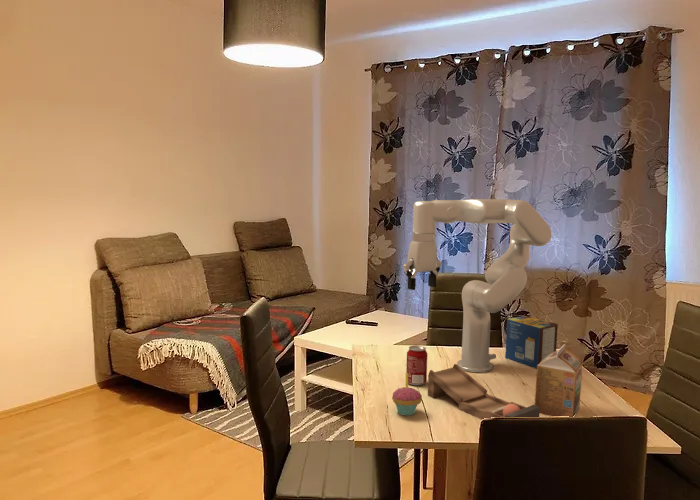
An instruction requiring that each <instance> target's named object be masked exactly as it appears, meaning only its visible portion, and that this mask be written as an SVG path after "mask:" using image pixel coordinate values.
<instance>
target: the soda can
mask: <svg viewBox="0 0 700 500" xmlns="http://www.w3.org/2000/svg"><path fill="white" fill-rule="evenodd" d="M405 370H407V373H408V385H411V386H415V387H416V386H417V387H421V386H423V385H425V384H426V383H427V382H428V380H427V377H428V375H427V374H428V352H427V348H426V346H422V345H410V346H409V347H408V350H407V352H406V368H405Z"/></svg>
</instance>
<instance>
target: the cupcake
mask: <svg viewBox="0 0 700 500" xmlns="http://www.w3.org/2000/svg"><path fill="white" fill-rule="evenodd" d="M405 370H406V369H405ZM422 397H423V396H422V394H421V393H420V390H419V391H418V390H417V389H415V388H412V387H409V383H408V373H407V370H406V371H405V386H404V387H400V388H397V389H395V390H394V392H392V397H391V399H392V402H393V403H394V404H395V407H396V410H397V413H398V414H399V415H402V416H412V415H414V414H415V412H416V409H417V406H418V405H419V404H421V402H422V401H423V400H422V399H423V398H422Z"/></svg>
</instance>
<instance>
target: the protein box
mask: <svg viewBox="0 0 700 500" xmlns="http://www.w3.org/2000/svg"><path fill="white" fill-rule="evenodd" d="M506 320H507V322H506V336H505V338H506V339H505V341H506V342H505V353H504V354H505V355H504V358H505V359H507V360H510V361H512V362H515V363H518V364H521V365H523V366H527V367H530V368H533V369H534V370H535V369H536V370H537V365H538V364H539V363H540V362H541V361H542V360H543V359H544V358H545V357H546V356H547V355H549V354H550V353H552V352H555V351H557V344H558V343H557V342H558V341H557V340H558V328H559V327H558V325H559V324H558V323H555V322H551V321H546V320H543V319H539V318H535V317H531V316H528V315H521V316H517V317H516V316H515V317H510V318H507V319H506Z"/></svg>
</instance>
